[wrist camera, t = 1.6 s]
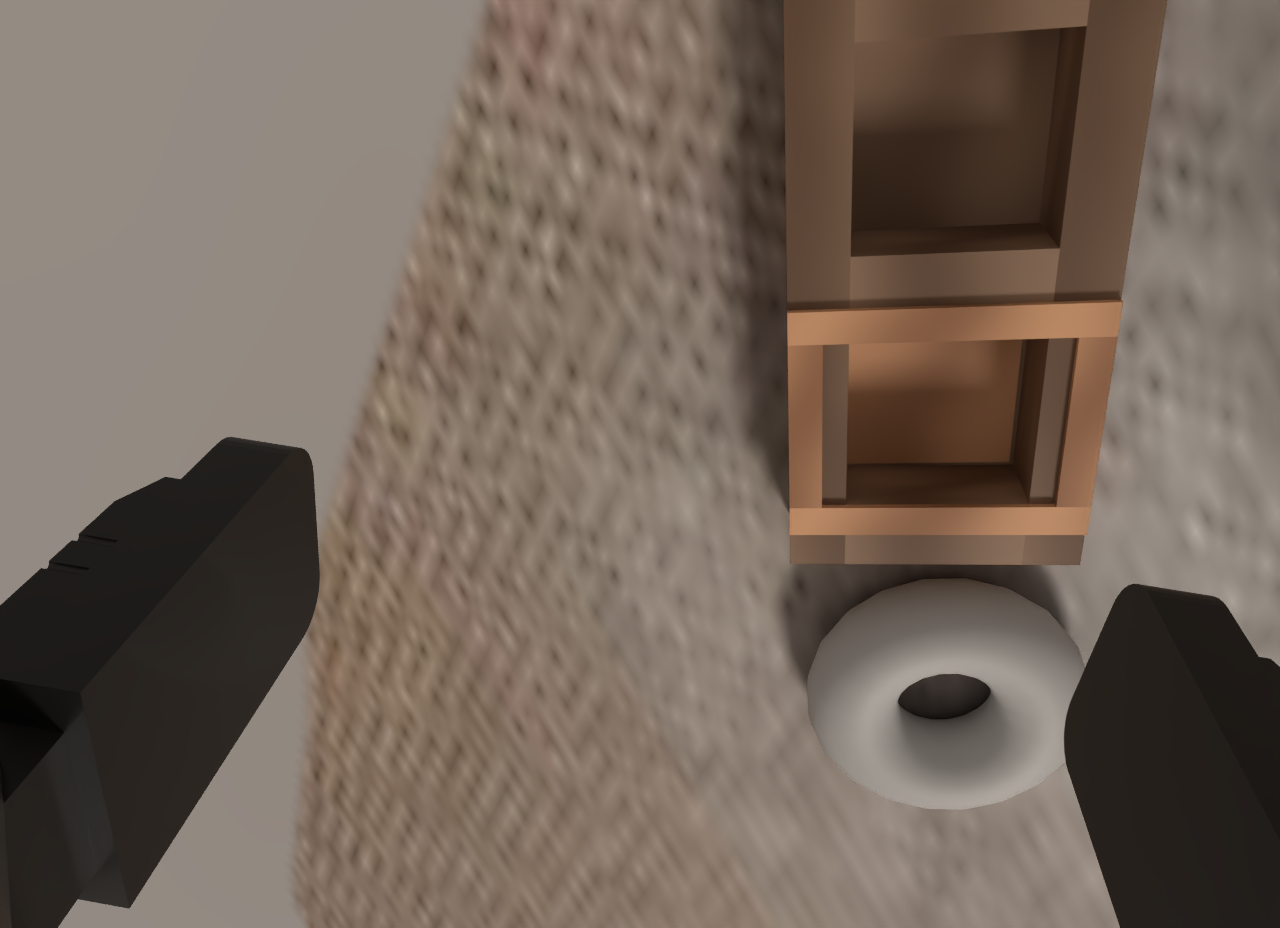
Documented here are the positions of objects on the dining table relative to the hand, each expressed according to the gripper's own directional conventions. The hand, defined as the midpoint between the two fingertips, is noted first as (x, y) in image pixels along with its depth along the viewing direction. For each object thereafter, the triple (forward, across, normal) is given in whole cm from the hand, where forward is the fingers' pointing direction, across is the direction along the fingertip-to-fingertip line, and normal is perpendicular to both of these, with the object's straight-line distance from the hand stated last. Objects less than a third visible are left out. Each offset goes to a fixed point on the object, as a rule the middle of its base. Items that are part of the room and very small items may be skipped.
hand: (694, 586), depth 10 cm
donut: (+23, -10, +18) cm, 31 cm away
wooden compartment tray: (+22, -6, -1) cm, 23 cm away
